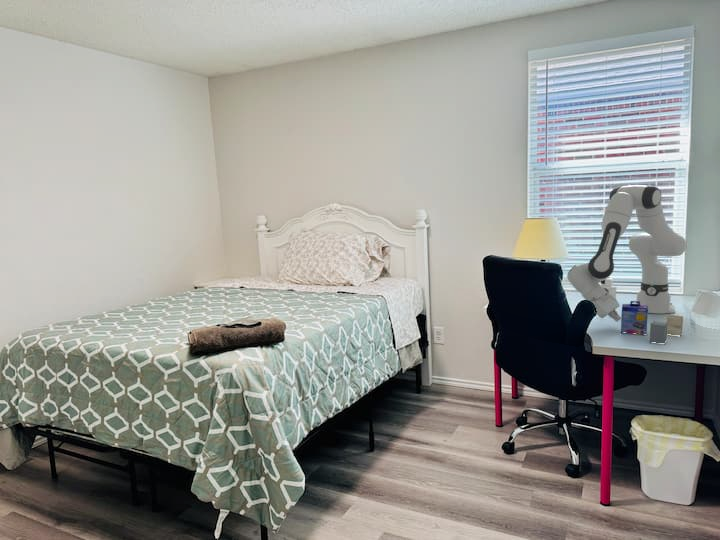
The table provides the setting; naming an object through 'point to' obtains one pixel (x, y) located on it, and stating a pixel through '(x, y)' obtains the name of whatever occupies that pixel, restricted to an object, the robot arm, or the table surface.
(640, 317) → the ink cartridge box
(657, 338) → the slate block
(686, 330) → the table surface
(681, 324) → the birch block
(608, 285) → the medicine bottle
